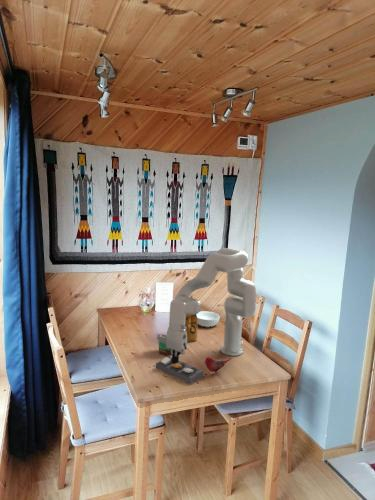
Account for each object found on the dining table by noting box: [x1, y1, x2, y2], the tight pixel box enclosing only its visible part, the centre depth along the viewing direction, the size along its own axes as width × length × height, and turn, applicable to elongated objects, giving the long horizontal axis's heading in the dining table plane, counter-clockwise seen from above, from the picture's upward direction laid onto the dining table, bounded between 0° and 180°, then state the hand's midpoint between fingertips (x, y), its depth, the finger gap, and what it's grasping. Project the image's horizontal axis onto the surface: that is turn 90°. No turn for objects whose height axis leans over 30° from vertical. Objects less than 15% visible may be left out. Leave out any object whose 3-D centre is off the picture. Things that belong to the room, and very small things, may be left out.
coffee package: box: [185, 314, 199, 344], centre depth 223 cm, size 10×12×22 cm
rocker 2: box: [183, 368, 194, 373], centre depth 175 cm, size 4×3×1 cm
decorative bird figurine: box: [203, 356, 233, 376], centre depth 182 cm, size 3×18×10 cm, turn 125°
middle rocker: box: [172, 363, 182, 368], centre depth 180 cm, size 4×3×1 cm
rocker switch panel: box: [155, 356, 204, 385], centre depth 181 cm, size 10×22×4 cm, turn 51°
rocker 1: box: [160, 356, 171, 365], centre depth 184 cm, size 4×3×1 cm
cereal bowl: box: [196, 310, 221, 328], centre depth 249 cm, size 17×17×7 cm
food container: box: [156, 332, 172, 357], centre depth 201 cm, size 12×6×10 cm, turn 68°
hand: (175, 362), depth 178 cm, fingers closed
